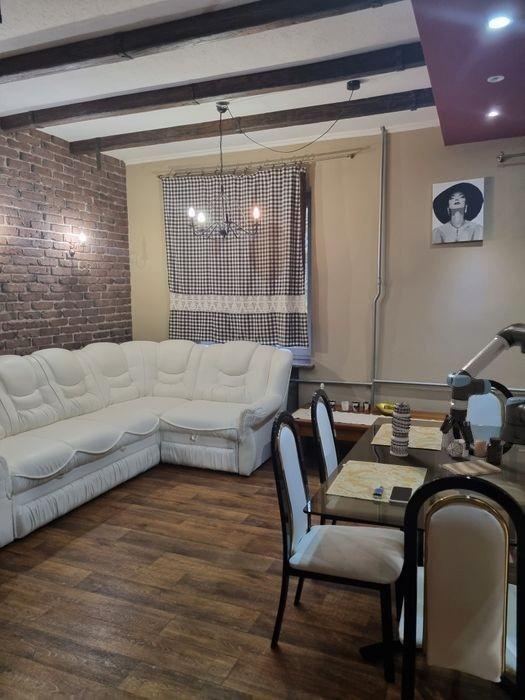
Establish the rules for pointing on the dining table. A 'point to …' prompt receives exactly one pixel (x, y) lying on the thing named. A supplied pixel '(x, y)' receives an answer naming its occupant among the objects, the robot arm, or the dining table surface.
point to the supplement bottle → (494, 451)
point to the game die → (455, 449)
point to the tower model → (400, 429)
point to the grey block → (460, 441)
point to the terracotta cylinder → (480, 448)
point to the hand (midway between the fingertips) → (454, 451)
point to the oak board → (471, 468)
